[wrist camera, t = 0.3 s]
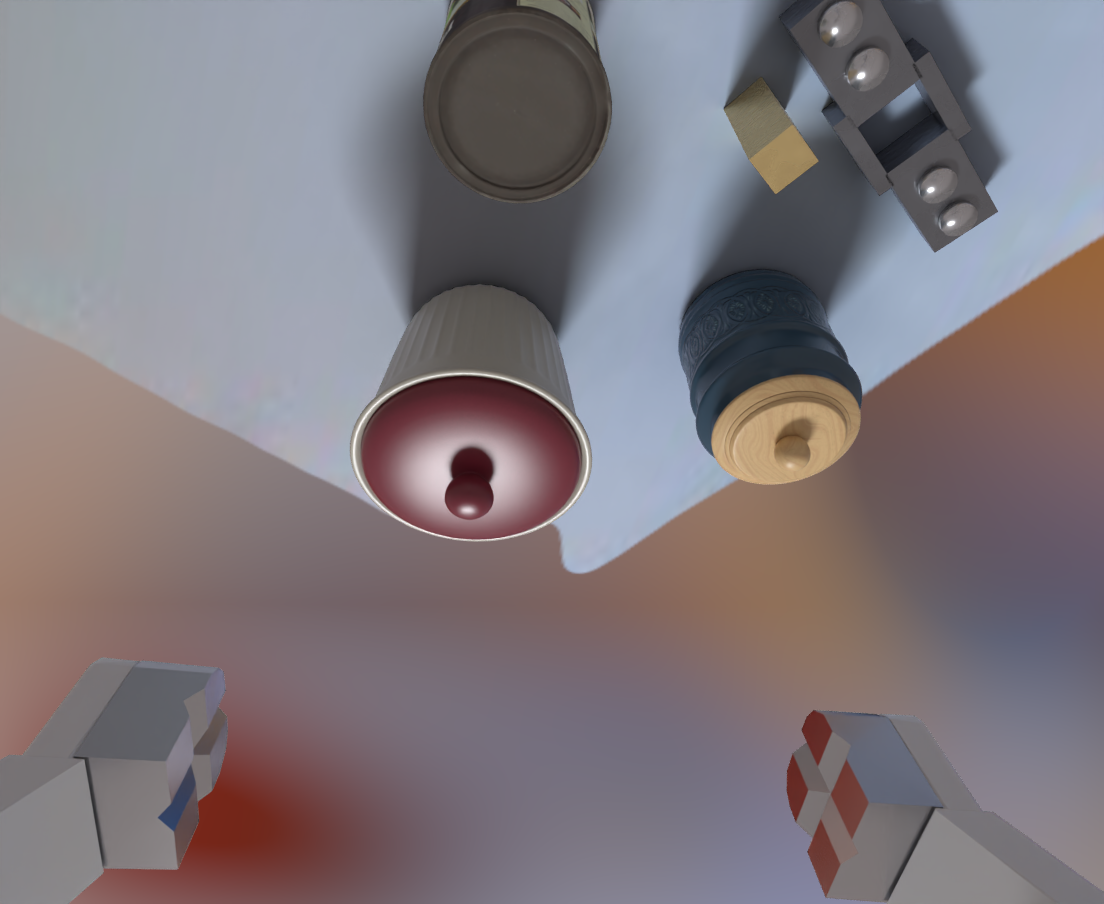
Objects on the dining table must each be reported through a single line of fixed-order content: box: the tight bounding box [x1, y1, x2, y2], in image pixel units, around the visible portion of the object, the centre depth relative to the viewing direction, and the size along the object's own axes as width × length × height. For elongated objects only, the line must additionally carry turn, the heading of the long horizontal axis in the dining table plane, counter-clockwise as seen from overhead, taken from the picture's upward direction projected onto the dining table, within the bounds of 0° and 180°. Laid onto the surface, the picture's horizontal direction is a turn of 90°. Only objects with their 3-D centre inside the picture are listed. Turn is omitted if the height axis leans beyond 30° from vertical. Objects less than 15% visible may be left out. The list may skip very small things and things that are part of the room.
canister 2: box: [679, 270, 862, 484], centre depth 61 cm, size 13×13×18 cm
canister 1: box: [350, 284, 592, 541], centre depth 60 cm, size 18×18×21 cm
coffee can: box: [423, 0, 612, 203], centre depth 46 cm, size 10×10×14 cm
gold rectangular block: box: [724, 77, 818, 194], centre depth 51 cm, size 3×3×9 cm
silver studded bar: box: [779, 0, 998, 252], centre depth 53 cm, size 7×22×4 cm, turn 43°
